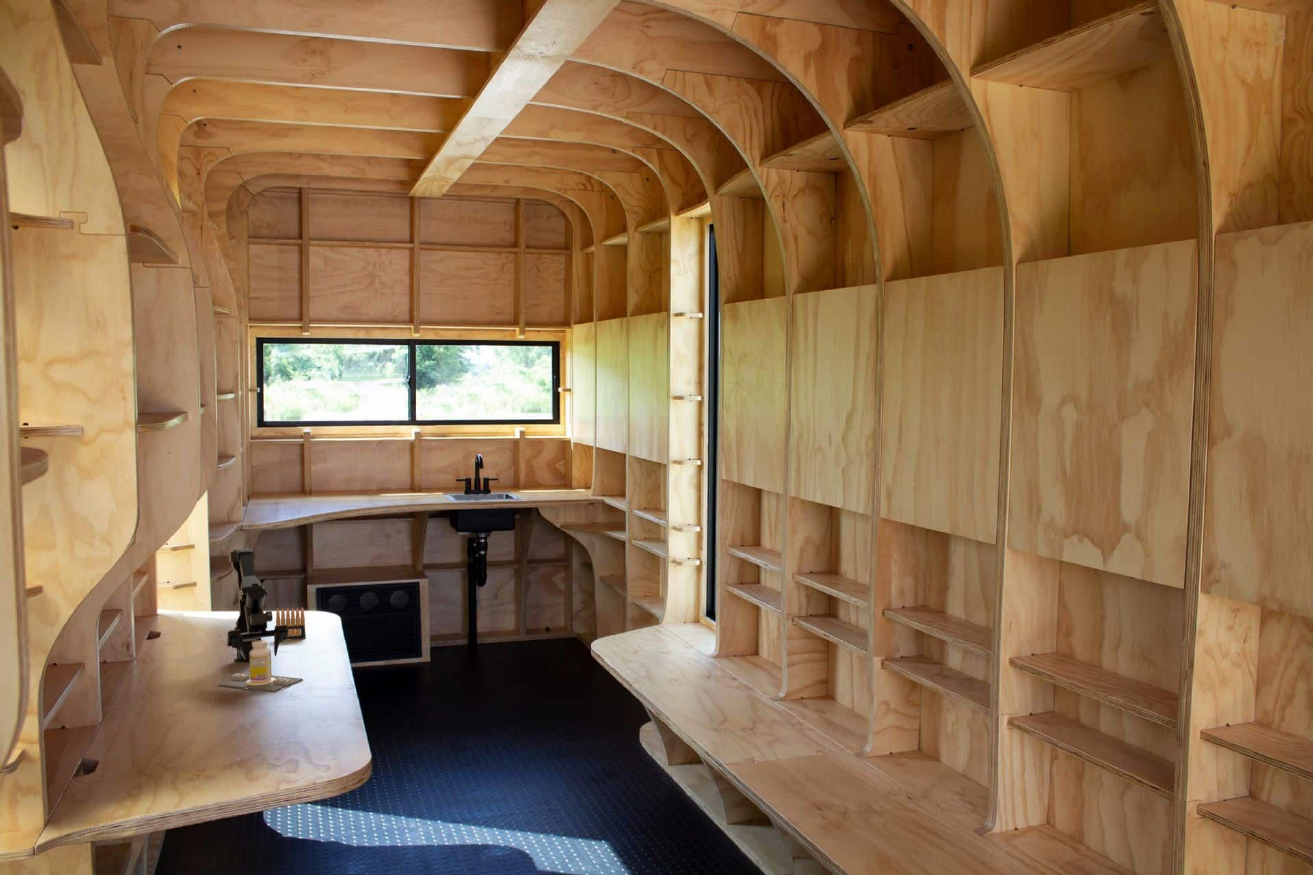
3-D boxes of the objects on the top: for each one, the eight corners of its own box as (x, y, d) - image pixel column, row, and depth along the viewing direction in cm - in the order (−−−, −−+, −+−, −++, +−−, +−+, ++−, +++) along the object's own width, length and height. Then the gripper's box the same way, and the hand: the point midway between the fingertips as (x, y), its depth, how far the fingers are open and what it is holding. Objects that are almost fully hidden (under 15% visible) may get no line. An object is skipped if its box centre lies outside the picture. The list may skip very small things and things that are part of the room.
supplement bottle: (260, 676, 365) (259, 638, 364) (276, 678, 363) (275, 640, 362) (245, 682, 359) (244, 642, 358) (261, 684, 356) (260, 644, 356)
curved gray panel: (218, 685, 358) (218, 679, 358) (248, 674, 371) (248, 668, 371) (274, 692, 350) (274, 685, 350) (302, 680, 364) (302, 673, 363)
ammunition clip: (305, 637, 423) (304, 606, 422) (305, 638, 421) (304, 607, 420) (276, 639, 420) (275, 608, 419) (275, 640, 418) (275, 609, 418)
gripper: (226, 606, 358) (231, 647, 349) (286, 600, 367) (293, 640, 358) (224, 625, 366) (229, 666, 357) (283, 619, 374) (289, 658, 365)
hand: (260, 657), depth 359 cm, fingers open, 9 cm apart
